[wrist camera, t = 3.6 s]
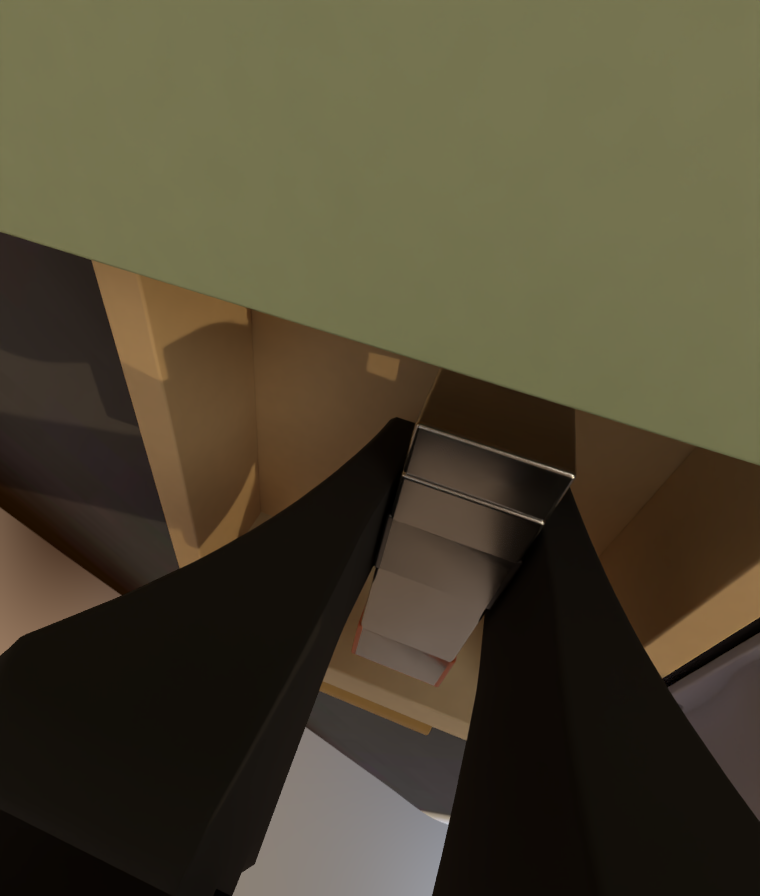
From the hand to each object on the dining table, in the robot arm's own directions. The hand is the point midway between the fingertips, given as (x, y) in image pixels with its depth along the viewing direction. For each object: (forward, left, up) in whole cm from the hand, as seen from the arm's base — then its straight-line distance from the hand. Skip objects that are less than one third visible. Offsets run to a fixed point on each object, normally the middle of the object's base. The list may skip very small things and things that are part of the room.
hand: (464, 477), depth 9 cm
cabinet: (+12, +1, -3) cm, 12 cm away
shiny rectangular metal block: (-1, 0, -1) cm, 1 cm away
